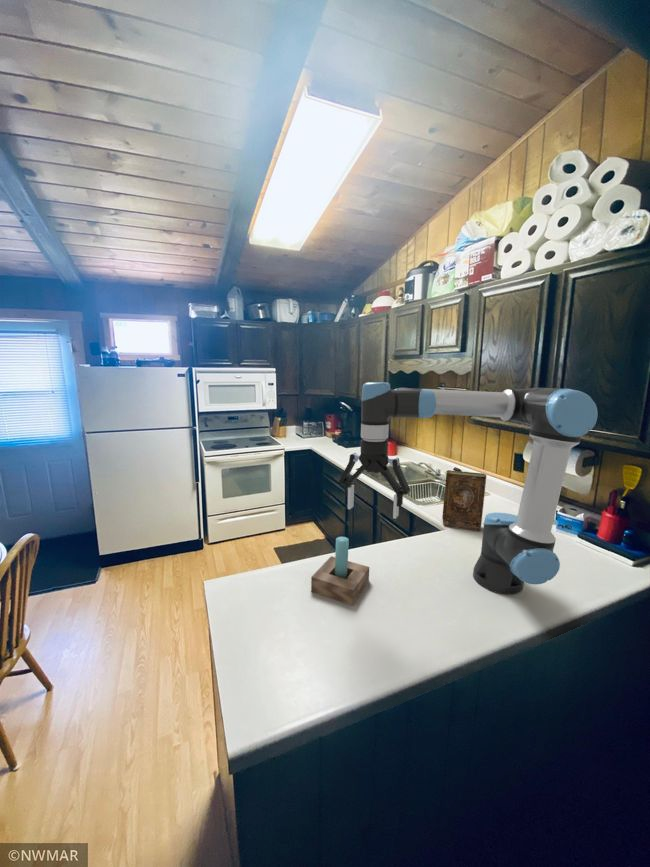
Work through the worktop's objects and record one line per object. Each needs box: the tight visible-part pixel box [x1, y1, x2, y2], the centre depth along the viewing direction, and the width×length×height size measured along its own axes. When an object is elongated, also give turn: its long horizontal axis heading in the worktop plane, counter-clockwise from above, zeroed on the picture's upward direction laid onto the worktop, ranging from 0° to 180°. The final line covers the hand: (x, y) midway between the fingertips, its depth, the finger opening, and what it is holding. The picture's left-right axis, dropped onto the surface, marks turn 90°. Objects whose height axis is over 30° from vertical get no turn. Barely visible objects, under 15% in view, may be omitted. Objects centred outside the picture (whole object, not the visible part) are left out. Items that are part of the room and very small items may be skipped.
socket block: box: [310, 556, 370, 606], centre depth 110 cm, size 14×14×5 cm
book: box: [441, 470, 487, 532], centre depth 155 cm, size 16×6×25 cm, turn 73°
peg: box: [334, 536, 350, 579], centre depth 109 cm, size 4×4×16 cm
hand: (372, 512), depth 98 cm, fingers open, 13 cm apart
